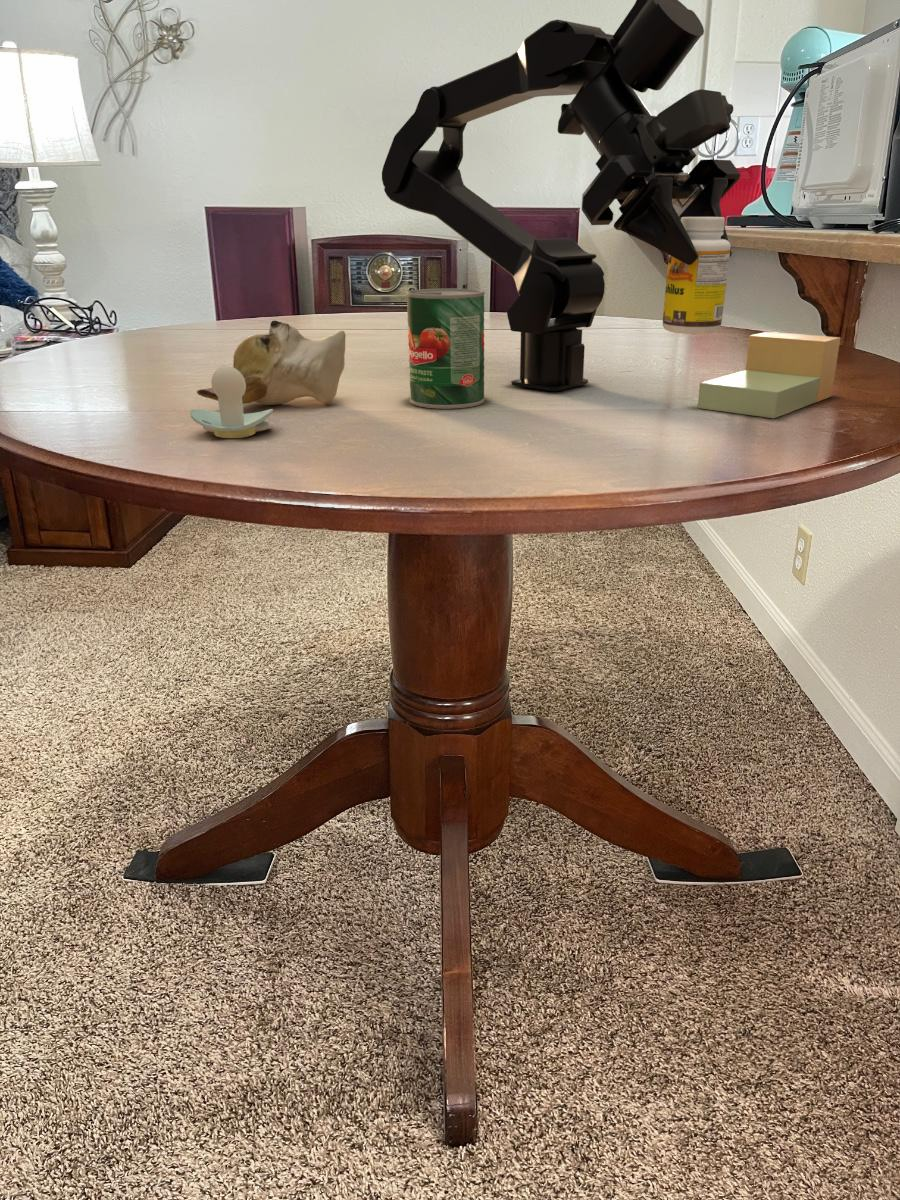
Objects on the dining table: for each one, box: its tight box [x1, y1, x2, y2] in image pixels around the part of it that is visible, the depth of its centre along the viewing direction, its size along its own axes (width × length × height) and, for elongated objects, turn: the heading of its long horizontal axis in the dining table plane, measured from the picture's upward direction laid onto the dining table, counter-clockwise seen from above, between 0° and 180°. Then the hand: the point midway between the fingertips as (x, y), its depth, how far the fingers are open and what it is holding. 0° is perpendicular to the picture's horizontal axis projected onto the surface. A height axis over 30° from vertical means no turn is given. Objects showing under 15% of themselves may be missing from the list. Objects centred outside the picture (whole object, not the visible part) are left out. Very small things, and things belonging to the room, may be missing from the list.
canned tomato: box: [405, 287, 486, 410], centre depth 91 cm, size 8×8×11 cm
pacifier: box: [189, 365, 274, 439], centre depth 80 cm, size 7×6×6 cm
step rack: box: [697, 331, 841, 419], centre depth 90 cm, size 8×14×6 cm, turn 138°
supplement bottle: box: [662, 216, 731, 335], centre depth 84 cm, size 6×6×10 cm
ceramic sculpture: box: [196, 320, 347, 406], centre depth 92 cm, size 11×9×15 cm
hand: (710, 259), depth 83 cm, fingers closed on supplement bottle, 5 cm apart
